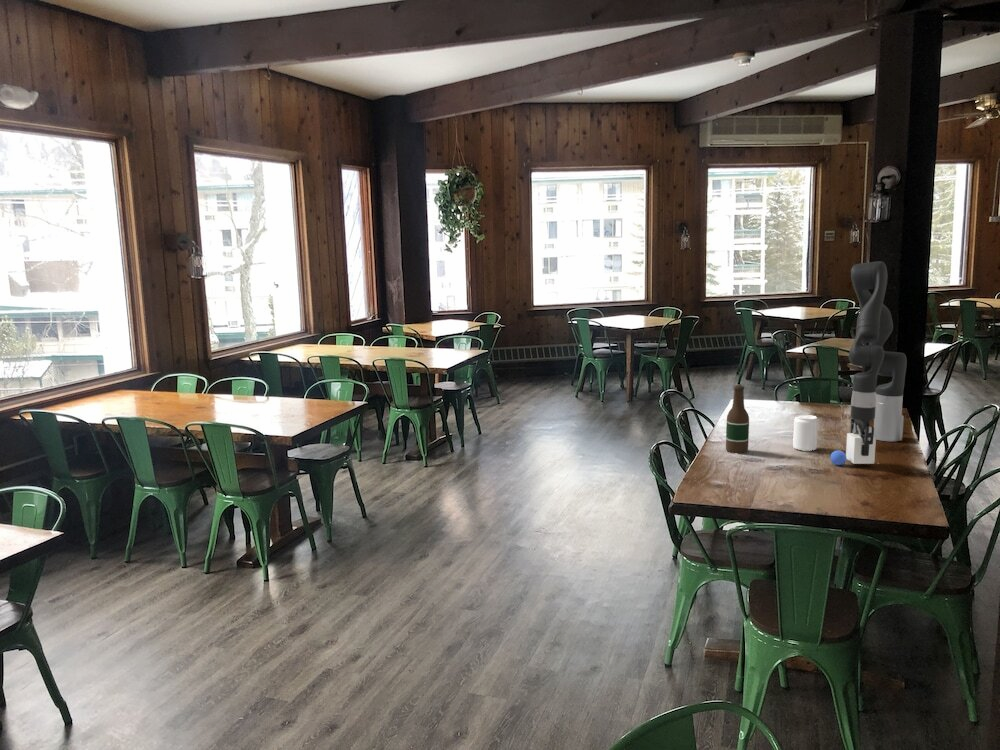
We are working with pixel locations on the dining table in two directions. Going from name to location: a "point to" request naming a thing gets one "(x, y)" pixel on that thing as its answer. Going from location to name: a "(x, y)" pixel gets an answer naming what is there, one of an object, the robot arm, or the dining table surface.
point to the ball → (838, 457)
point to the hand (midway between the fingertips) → (860, 452)
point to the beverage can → (805, 432)
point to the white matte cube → (859, 450)
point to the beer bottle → (737, 424)
